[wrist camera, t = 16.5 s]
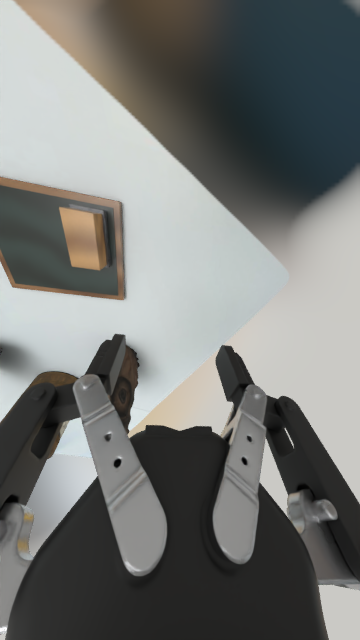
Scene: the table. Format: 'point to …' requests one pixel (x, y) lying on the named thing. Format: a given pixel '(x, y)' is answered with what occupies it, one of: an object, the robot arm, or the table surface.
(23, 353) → the table surface
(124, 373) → the owl
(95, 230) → the eraser
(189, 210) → the table surface
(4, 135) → the table surface
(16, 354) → the table surface
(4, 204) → the board
